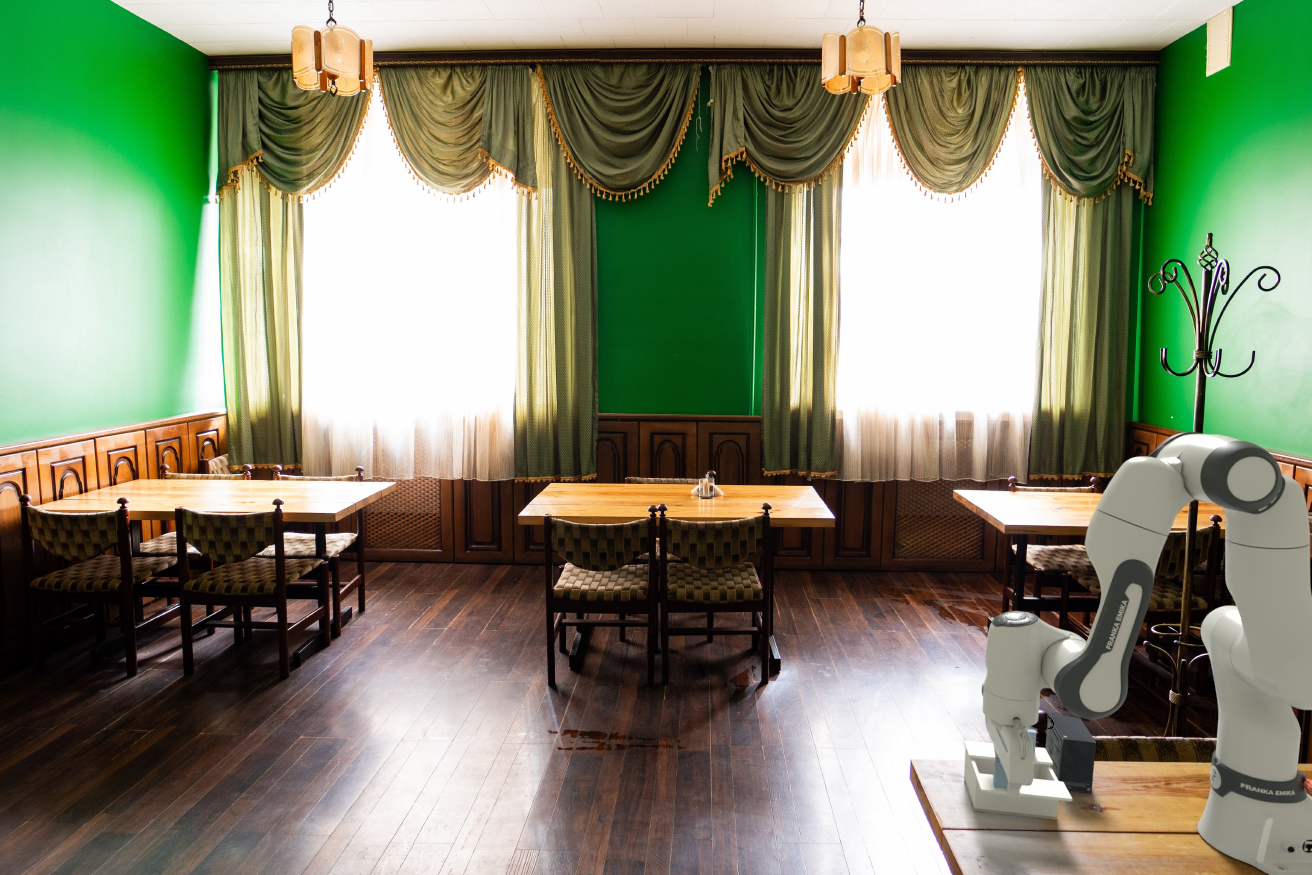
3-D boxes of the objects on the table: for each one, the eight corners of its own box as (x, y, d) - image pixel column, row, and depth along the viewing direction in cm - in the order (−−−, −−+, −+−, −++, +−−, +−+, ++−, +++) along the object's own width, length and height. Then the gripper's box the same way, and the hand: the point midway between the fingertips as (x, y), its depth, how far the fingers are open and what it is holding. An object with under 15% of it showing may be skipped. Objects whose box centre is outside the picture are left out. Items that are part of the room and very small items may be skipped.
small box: (1094, 794, 153) (1098, 741, 152) (1057, 790, 155) (1060, 738, 153) (1077, 765, 164) (1081, 716, 162) (1042, 762, 165) (1046, 713, 164)
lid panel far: (1044, 750, 155) (1046, 728, 155) (1052, 765, 150) (1054, 742, 149) (964, 742, 158) (965, 721, 157) (969, 757, 153) (970, 734, 152)
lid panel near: (1062, 784, 144) (1064, 760, 143) (1072, 801, 138) (1073, 776, 138) (975, 775, 146) (976, 751, 146) (981, 791, 141) (982, 767, 141)
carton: (1041, 786, 156) (1043, 752, 155) (1057, 819, 145) (1059, 783, 144) (964, 778, 159) (965, 744, 158) (974, 810, 148) (976, 774, 147)
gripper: (1046, 736, 129) (1041, 817, 131) (1016, 682, 149) (1012, 753, 151) (1004, 732, 130) (999, 813, 132) (979, 679, 150) (976, 750, 152)
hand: (1006, 781), depth 142 cm, fingers open, 8 cm apart
